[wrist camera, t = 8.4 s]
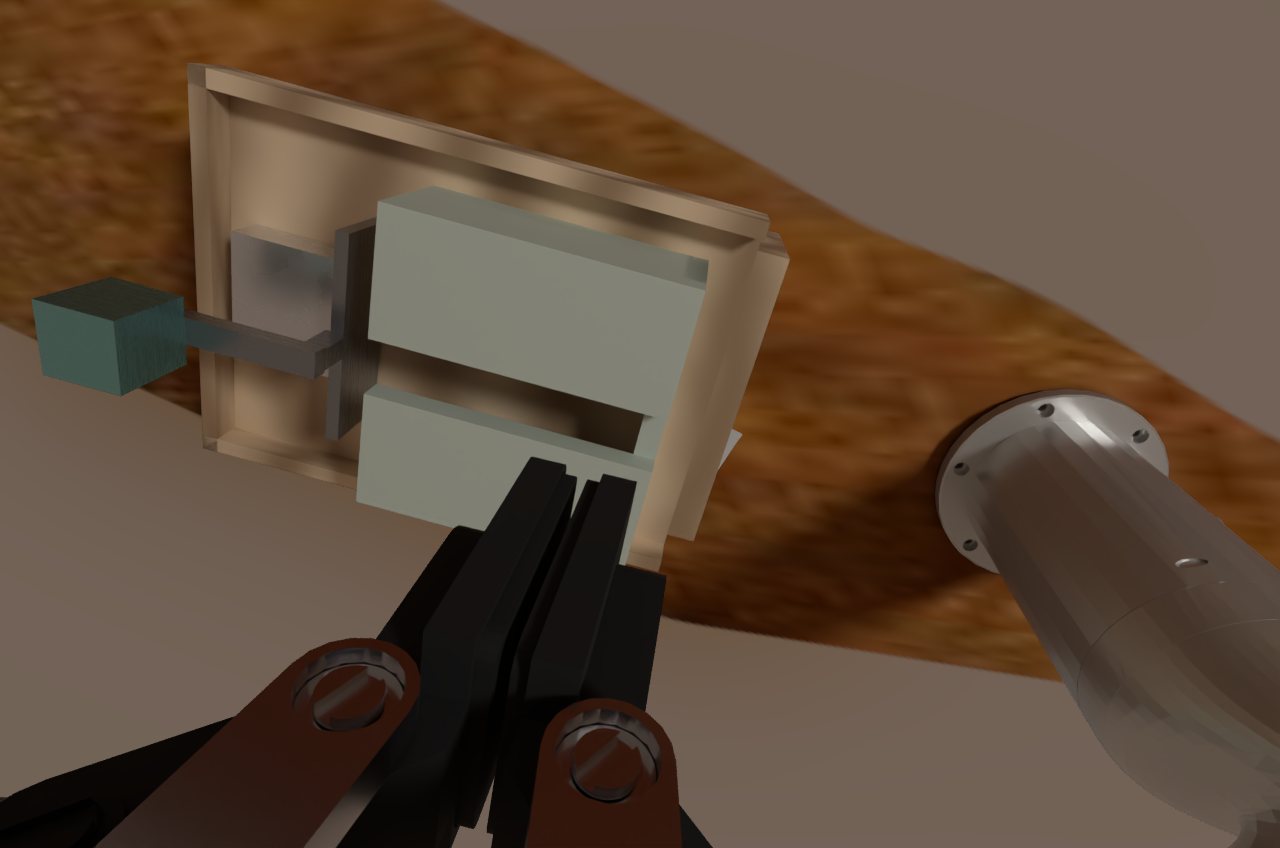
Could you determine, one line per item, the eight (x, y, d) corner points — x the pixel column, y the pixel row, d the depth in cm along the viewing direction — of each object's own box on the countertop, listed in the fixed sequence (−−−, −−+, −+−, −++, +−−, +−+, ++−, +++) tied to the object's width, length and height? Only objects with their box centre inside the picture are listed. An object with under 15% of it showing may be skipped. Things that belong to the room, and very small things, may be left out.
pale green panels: (709, 260, 31) (705, 290, 26) (636, 509, 37) (622, 574, 32) (434, 185, 31) (377, 200, 26) (406, 447, 37) (355, 501, 32)
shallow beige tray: (788, 205, 37) (804, 232, 29) (691, 498, 45) (684, 579, 37) (299, 71, 37) (186, 62, 29) (292, 389, 45) (203, 448, 37)
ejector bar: (394, 221, 32) (263, 266, 23) (378, 409, 36) (262, 511, 27) (218, 172, 32) (16, 198, 23) (223, 367, 36) (55, 454, 27)
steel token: (377, 257, 33) (358, 265, 31) (369, 369, 36) (350, 383, 34) (257, 224, 33) (230, 230, 31) (257, 338, 36) (232, 351, 34)
